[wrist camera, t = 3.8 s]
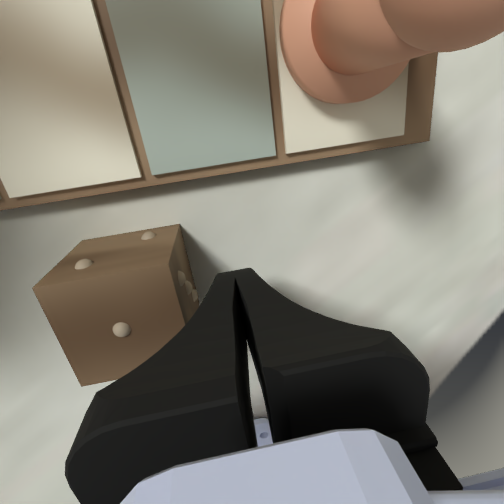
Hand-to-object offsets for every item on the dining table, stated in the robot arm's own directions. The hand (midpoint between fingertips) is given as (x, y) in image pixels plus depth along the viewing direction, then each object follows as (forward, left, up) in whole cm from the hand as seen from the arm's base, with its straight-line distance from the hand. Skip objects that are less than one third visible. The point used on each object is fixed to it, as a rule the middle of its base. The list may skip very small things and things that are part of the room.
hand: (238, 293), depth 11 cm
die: (0, +4, -3) cm, 5 cm away
